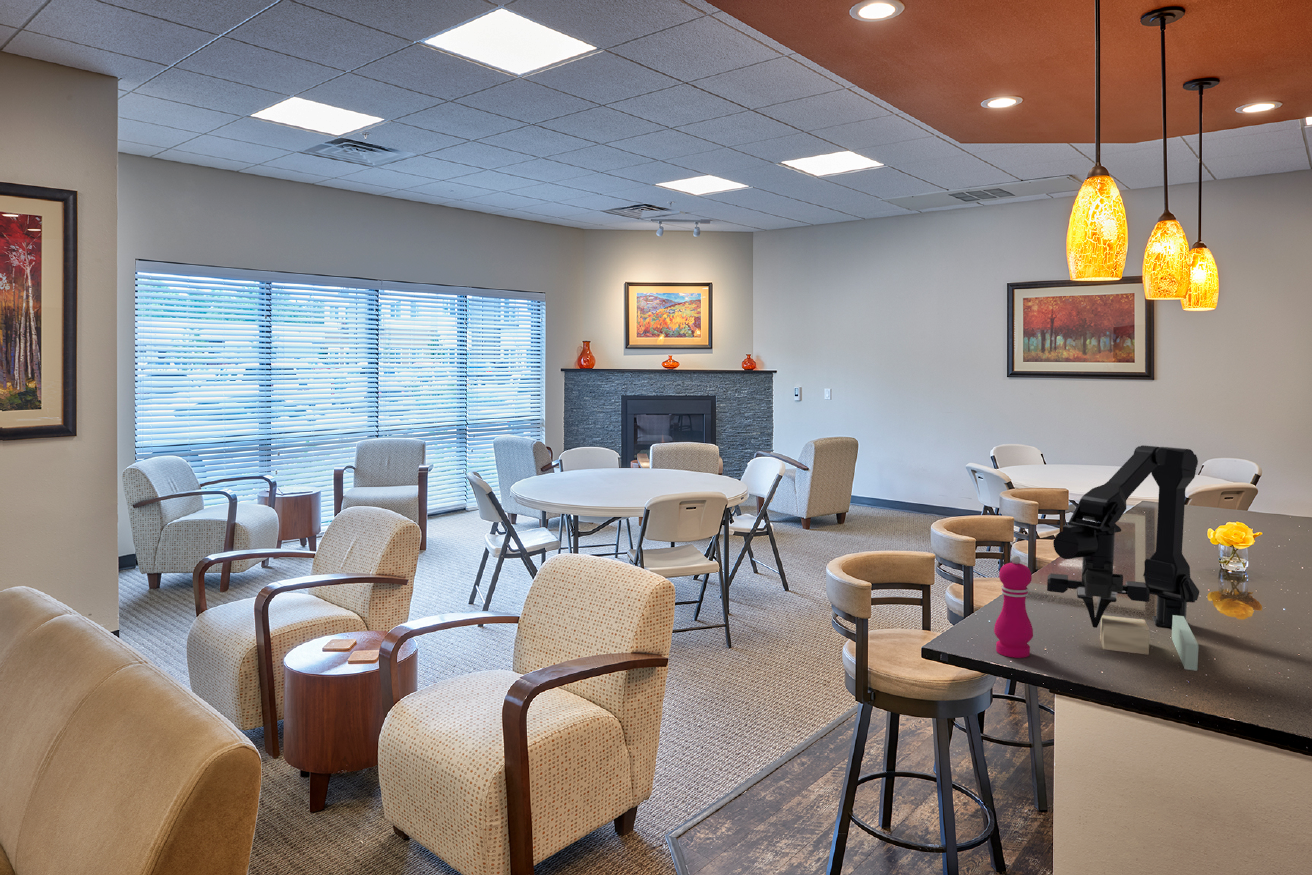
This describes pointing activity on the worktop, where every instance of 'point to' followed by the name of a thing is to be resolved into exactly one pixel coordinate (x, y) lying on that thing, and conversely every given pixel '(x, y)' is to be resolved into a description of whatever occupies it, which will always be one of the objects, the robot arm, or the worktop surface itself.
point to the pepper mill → (1014, 611)
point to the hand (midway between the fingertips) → (1094, 627)
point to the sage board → (1185, 642)
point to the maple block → (1124, 634)
